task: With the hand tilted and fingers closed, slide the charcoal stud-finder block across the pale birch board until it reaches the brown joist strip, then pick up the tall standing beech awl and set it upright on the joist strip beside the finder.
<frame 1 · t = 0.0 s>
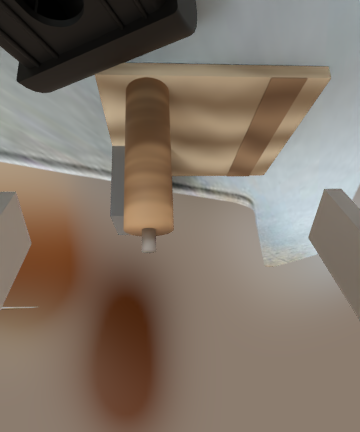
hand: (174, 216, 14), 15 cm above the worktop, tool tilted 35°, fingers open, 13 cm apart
stud finder: (141, 161, 39), point 1 cm above the worktop, touching birch board
birch board: (201, 128, 35), on the worktop
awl: (147, 92, 27), point 1 cm above the worktop, touching birch board
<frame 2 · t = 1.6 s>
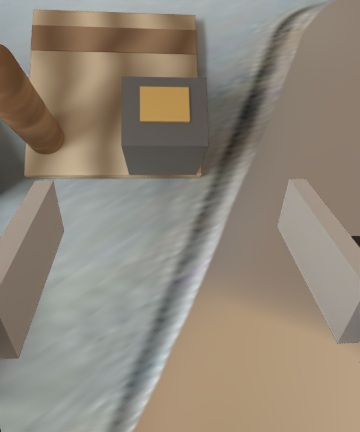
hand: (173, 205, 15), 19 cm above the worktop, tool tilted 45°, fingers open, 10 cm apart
stud finder: (162, 147, 34), point 1 cm above the worktop, touching birch board
birch board: (116, 96, 36), on the worktop
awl: (46, 137, 34), point 1 cm above the worktop, touching birch board
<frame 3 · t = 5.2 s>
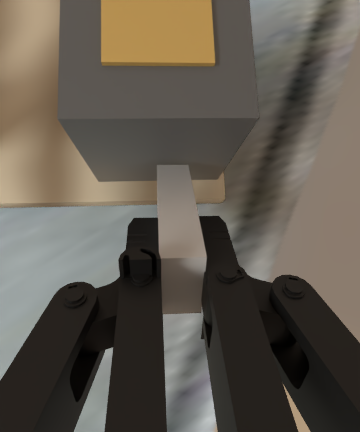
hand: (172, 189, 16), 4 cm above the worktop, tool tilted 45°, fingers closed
stud finder: (157, 132, 20), point 1 cm above the worktop
birch board: (77, 63, 21), on the worktop
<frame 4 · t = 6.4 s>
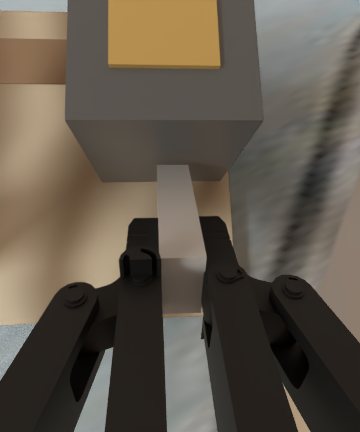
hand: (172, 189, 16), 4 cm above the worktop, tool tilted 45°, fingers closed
stud finder: (161, 133, 20), point 1 cm above the worktop, touching gripper
birch board: (81, 161, 20), on the worktop
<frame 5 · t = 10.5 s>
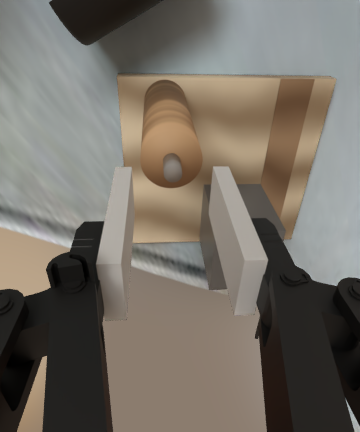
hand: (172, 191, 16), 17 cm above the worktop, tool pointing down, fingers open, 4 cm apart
stud finder: (228, 212, 36), point 1 cm above the worktop, touching birch board
birch board: (217, 166, 34), on the worktop
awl: (165, 101, 29), point 1 cm above the worktop, touching birch board
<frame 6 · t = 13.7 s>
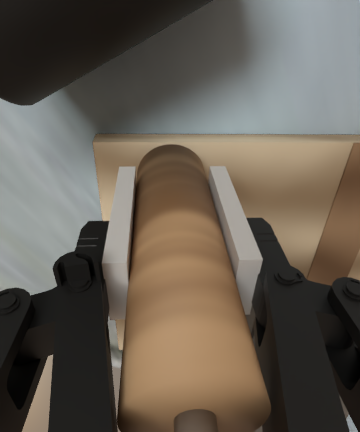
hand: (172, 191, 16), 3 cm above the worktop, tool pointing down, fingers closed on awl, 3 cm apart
birch board: (244, 254, 24), on the worktop
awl: (170, 176, 17), point 2 cm above the worktop, touching gripper
when the fingers open (4 cm above the worktop, at t = 17.8 s): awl stays where it is, resting on birch board.
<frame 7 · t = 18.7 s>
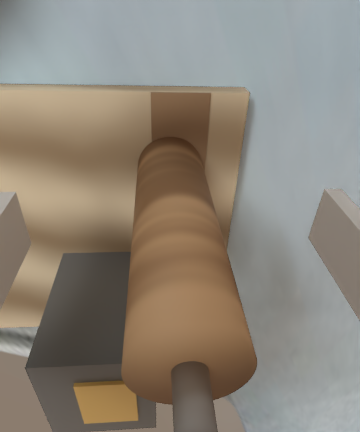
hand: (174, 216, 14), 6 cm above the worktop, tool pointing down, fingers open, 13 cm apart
stud finder: (113, 288, 24), point 1 cm above the worktop, touching birch board
birch board: (86, 225, 22), on the worktop
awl: (169, 167, 18), point 1 cm above the worktop, touching birch board
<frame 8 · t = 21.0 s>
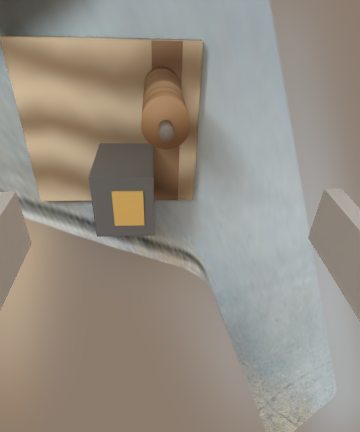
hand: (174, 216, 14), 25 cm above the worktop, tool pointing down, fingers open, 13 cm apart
stud finder: (128, 171, 39), point 1 cm above the worktop, touching birch board
birch board: (113, 127, 37), on the worktop
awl: (161, 85, 33), point 1 cm above the worktop, touching birch board
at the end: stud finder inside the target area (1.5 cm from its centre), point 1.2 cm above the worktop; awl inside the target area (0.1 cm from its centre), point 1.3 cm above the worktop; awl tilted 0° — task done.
